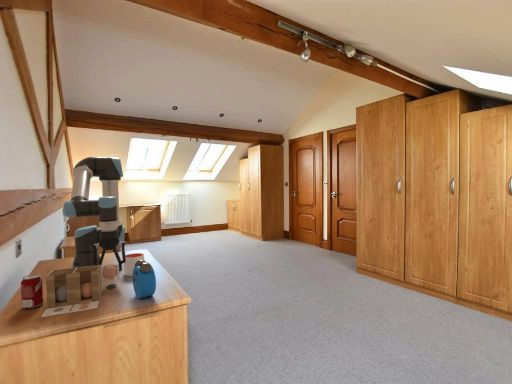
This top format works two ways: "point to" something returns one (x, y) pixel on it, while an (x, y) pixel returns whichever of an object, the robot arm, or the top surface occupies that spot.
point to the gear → (110, 286)
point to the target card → (70, 308)
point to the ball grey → (61, 294)
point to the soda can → (31, 291)
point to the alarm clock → (143, 279)
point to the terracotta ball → (86, 290)
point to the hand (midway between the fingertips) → (110, 279)
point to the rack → (73, 285)
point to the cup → (131, 262)
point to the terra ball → (110, 272)
